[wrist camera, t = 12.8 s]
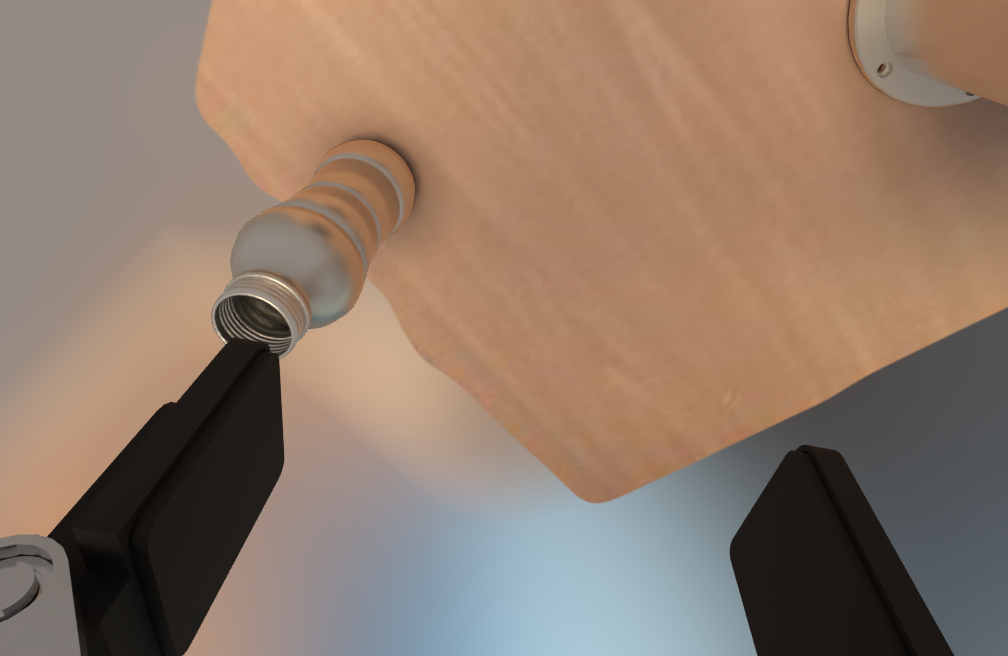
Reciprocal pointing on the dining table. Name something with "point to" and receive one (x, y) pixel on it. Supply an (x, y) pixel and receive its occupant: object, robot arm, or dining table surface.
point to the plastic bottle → (314, 247)
